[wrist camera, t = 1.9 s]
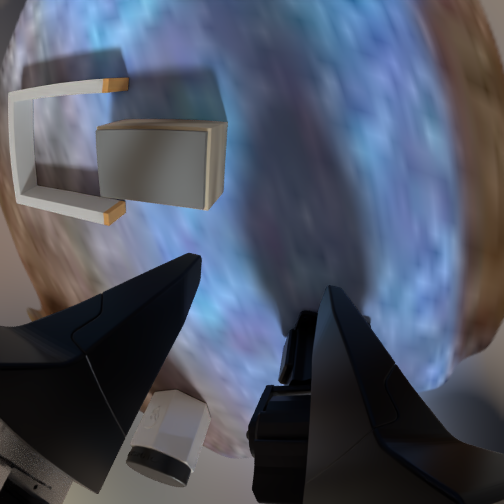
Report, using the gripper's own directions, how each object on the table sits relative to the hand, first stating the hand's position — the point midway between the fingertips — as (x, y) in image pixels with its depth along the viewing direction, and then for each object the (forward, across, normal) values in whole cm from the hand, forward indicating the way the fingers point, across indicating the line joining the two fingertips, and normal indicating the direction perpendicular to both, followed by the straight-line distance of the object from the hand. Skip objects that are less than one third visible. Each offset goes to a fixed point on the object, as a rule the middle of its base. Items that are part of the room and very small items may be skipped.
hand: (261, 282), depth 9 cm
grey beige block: (+12, +8, 0) cm, 15 cm away
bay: (+12, +19, 0) cm, 22 cm away
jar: (+12, +8, +34) cm, 37 cm away
